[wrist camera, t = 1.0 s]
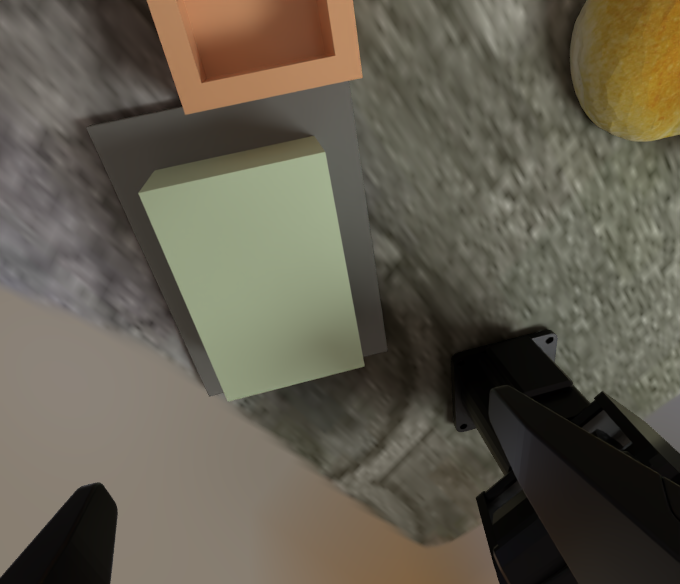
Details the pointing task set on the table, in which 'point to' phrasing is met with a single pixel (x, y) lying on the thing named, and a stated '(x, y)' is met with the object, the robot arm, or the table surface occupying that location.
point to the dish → (255, 47)
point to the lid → (259, 264)
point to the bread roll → (629, 66)
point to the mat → (236, 136)
